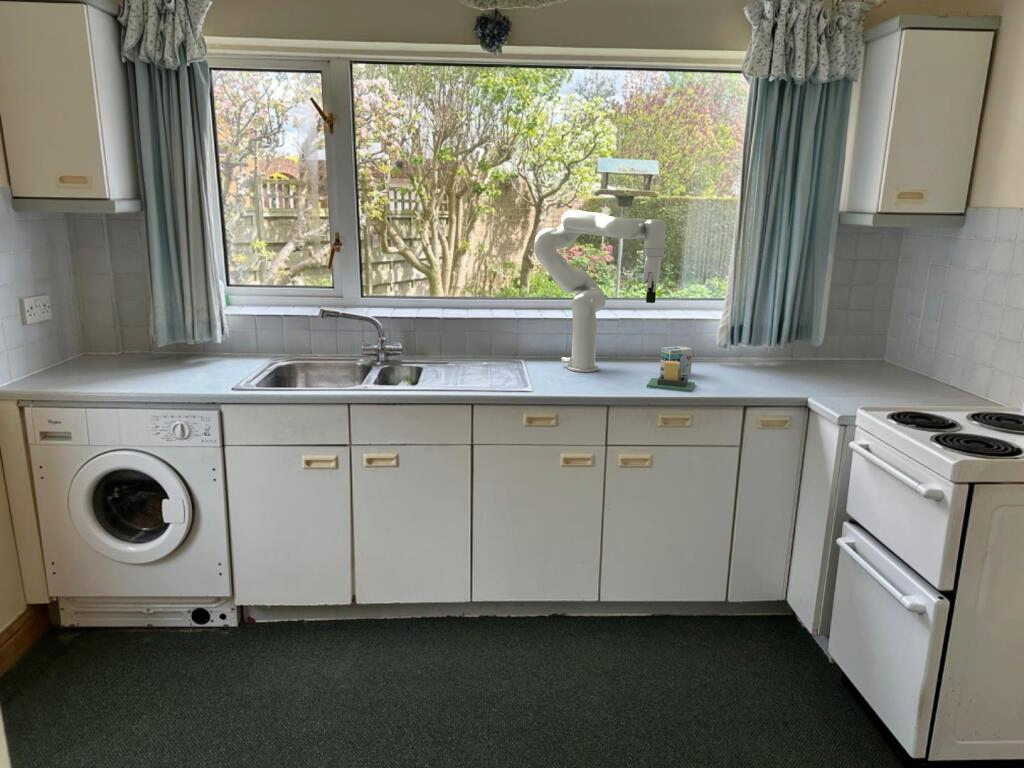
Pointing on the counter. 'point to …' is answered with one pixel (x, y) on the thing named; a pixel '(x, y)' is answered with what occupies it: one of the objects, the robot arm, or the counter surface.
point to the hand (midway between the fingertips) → (650, 302)
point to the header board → (671, 384)
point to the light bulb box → (677, 358)
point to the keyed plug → (672, 370)
